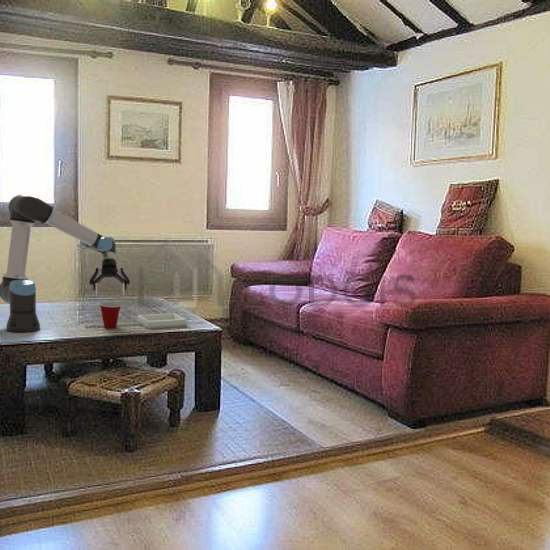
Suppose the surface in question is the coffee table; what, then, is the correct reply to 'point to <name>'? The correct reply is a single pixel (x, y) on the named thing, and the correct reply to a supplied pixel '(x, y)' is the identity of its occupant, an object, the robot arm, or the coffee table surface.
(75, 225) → the robot arm
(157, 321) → the tray
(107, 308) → the plastic cup
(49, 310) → the coffee table surface
